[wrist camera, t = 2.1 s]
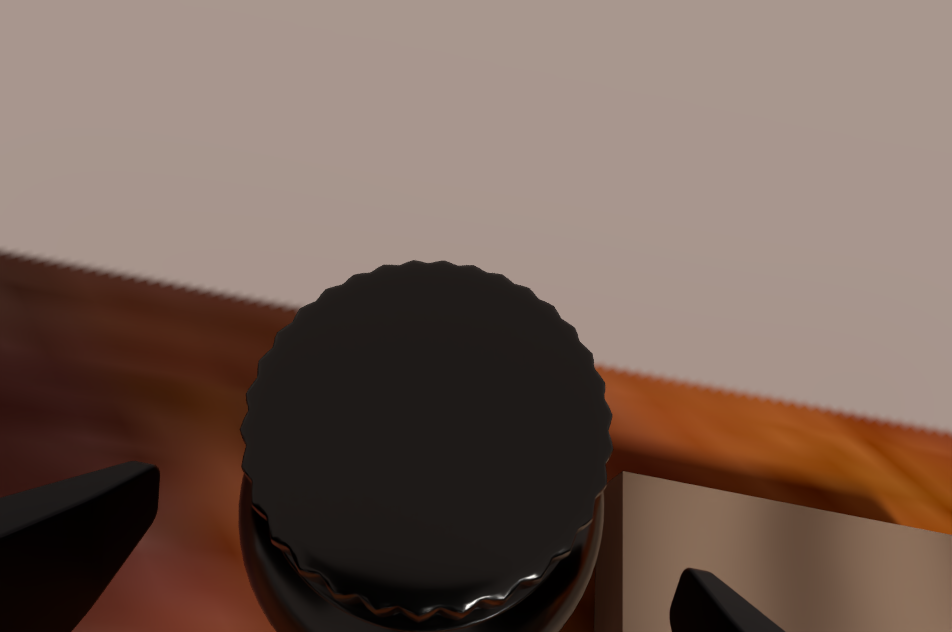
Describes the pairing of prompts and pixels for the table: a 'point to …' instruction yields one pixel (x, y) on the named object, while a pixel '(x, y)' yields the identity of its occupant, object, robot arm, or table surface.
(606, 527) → the light brown block
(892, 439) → the table surface
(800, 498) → the table surface
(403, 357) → the supplement bottle
